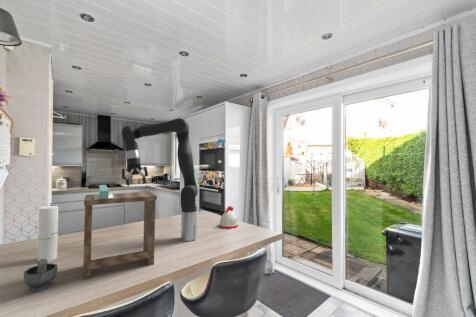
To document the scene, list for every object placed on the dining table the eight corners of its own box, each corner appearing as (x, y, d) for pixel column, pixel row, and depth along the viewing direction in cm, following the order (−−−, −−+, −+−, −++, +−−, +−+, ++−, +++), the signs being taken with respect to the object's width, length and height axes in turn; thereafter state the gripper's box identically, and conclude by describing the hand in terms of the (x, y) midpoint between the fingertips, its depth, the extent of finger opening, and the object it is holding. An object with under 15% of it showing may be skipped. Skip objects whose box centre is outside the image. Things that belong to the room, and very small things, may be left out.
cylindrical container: (60, 257, 112) (62, 206, 112) (44, 263, 105) (45, 209, 105) (50, 255, 114) (52, 205, 114) (34, 261, 107) (35, 207, 108)
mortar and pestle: (23, 286, 86) (24, 254, 86) (54, 278, 92) (55, 248, 93) (24, 300, 78) (25, 264, 78) (58, 289, 84) (59, 257, 85)
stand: (148, 252, 119) (149, 190, 119) (155, 265, 105) (156, 195, 106) (83, 265, 104) (85, 194, 105) (82, 280, 91) (84, 199, 91)
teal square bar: (106, 190, 118) (106, 184, 118) (108, 198, 96) (108, 190, 96) (99, 190, 116) (99, 185, 116) (100, 198, 94) (100, 191, 94)
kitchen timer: (241, 226, 171) (242, 206, 171) (228, 230, 161) (229, 209, 161) (228, 222, 180) (229, 203, 180) (215, 226, 170) (216, 206, 170)
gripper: (120, 158, 132) (124, 185, 130) (146, 156, 140) (150, 182, 138) (119, 160, 138) (122, 187, 136) (144, 158, 146) (147, 183, 144)
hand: (136, 184), depth 137 cm, fingers open, 8 cm apart
